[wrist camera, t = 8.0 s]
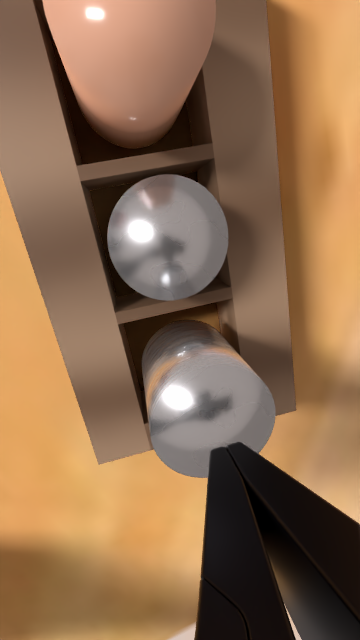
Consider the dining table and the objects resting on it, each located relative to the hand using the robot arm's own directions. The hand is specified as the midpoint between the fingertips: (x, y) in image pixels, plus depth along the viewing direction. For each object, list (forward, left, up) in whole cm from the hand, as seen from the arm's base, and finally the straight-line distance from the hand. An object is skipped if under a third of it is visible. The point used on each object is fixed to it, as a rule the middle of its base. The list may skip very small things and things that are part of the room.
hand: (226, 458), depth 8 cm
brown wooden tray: (+6, 0, -9) cm, 10 cm away
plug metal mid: (+6, 0, -9) cm, 10 cm away
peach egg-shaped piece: (+11, 0, -7) cm, 13 cm away
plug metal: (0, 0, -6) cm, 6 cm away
